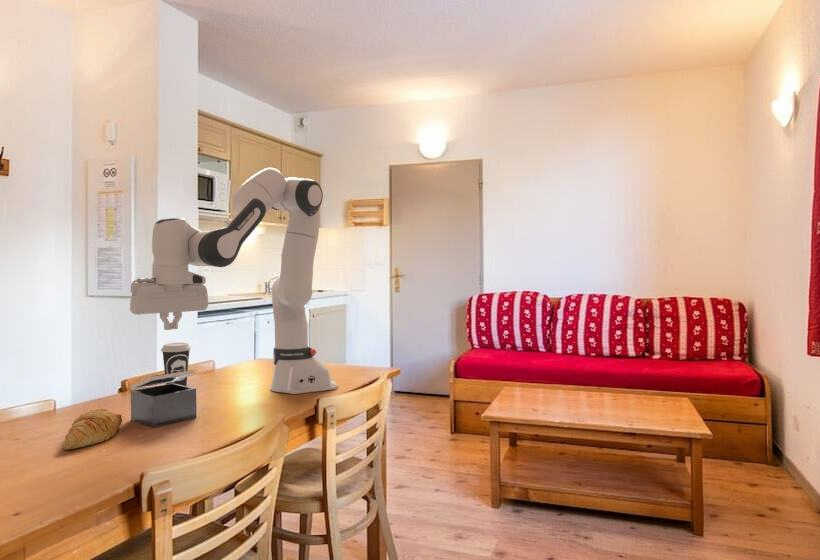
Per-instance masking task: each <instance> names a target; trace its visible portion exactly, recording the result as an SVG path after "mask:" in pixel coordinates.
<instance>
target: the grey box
mask: <svg viewBox="0 0 820 560" xmlns="http://www.w3.org/2000/svg"><path fill="white" fill-rule="evenodd" d="M196 418H197V388H195V387H192V386H188V385H187V386H183V385H179V384H175V383H171V384H166V383H165V384H159V385H154V386H148V387H142V388H137V389H130V420H131V421H132V420H133V422H135V421H136V423H138V422H139V424H141V423H142V424H141V425H144V424H145V426H147V425H148V427H151V428H158V426H159V427H161V426H162V427H163V426H167V425H171V424H176V423H178V422H179V423H180V422H182V421H187V420H191V419H196Z"/></svg>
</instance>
